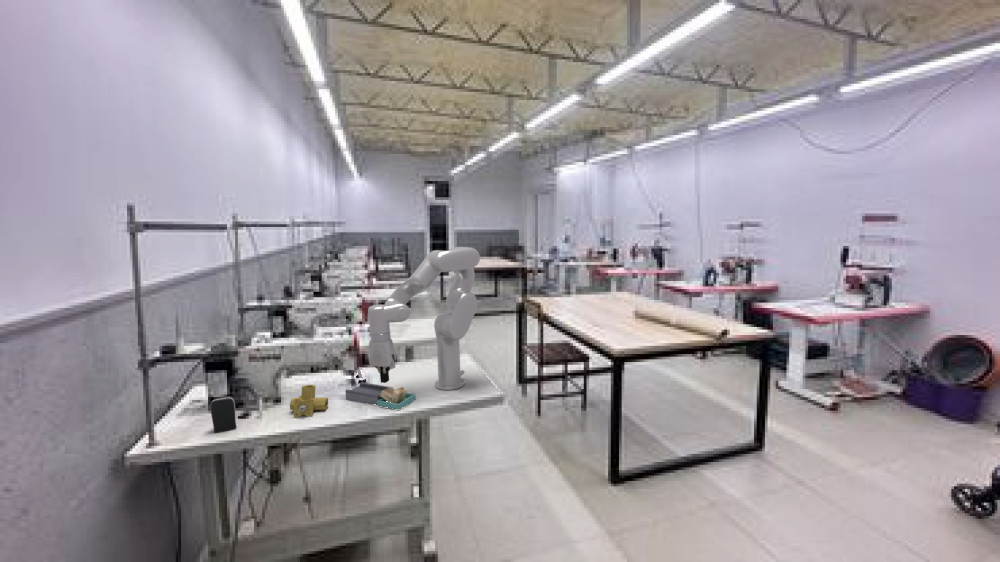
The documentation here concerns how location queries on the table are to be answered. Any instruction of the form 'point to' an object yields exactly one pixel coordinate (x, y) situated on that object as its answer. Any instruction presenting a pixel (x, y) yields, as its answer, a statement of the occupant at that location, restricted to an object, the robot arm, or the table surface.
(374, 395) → the rail plate
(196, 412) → the table surface
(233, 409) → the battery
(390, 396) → the chip
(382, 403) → the tray
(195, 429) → the table surface
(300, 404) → the ball valve
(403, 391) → the chip
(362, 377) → the hinge
